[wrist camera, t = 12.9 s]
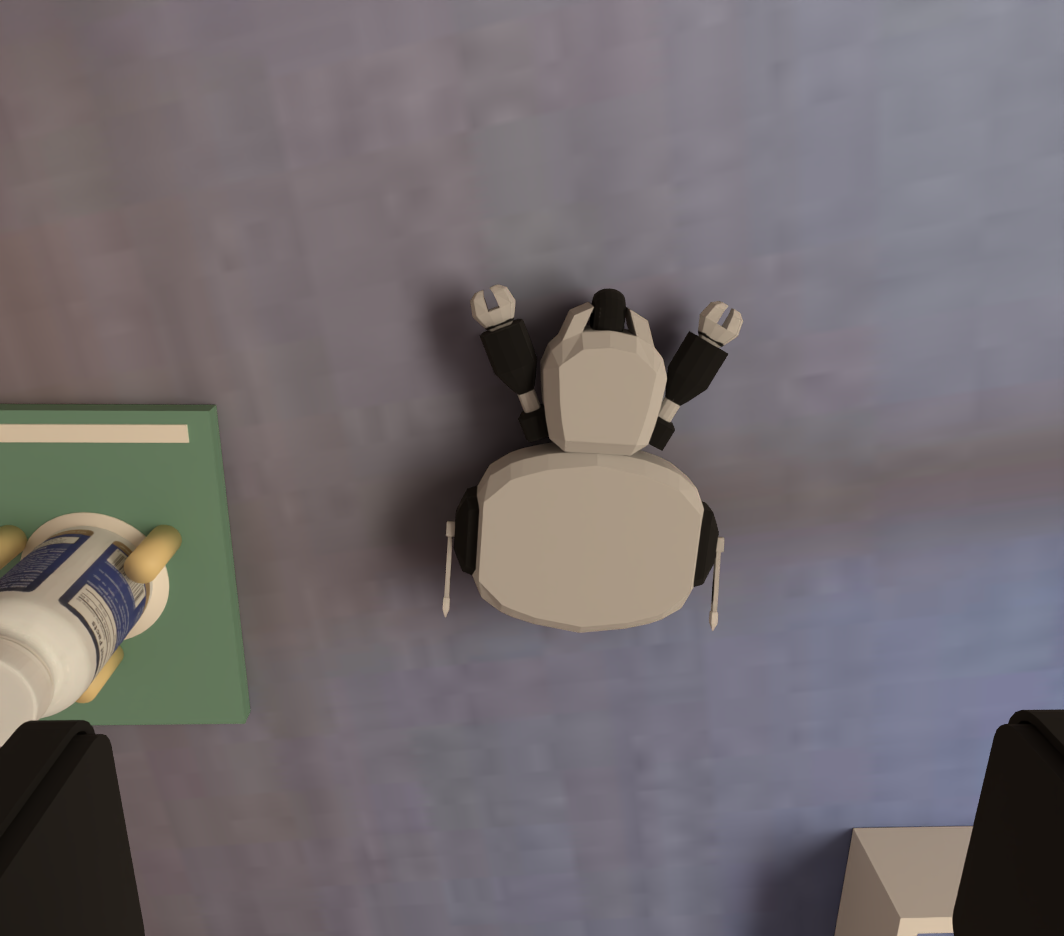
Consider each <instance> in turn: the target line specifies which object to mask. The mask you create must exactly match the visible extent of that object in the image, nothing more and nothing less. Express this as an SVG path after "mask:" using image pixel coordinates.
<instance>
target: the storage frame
mask: <svg viewBox="0 0 1064 936" xmlns="http://www.w3.org/2000/svg"><path fill="white" fill-rule="evenodd" d="M972 829H973V826H956V827H894V828H853V833H852V839H851V844H850V850H849V856H848V861H847V867H846V873H845V878H844V884H843V890H842V895H841V901H840V907H839V912H838V918H837V924H836V930H835V935H834V936H917V933H954V932H953V925H952V917H953V910H954V906H955V901H956V897H957V893H958V889H959V884H960V880H961V876H962V872H963V867H964V863H965V859H966V854H967V850H968V846H969V842H970V837H971V833H972Z"/></svg>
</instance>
